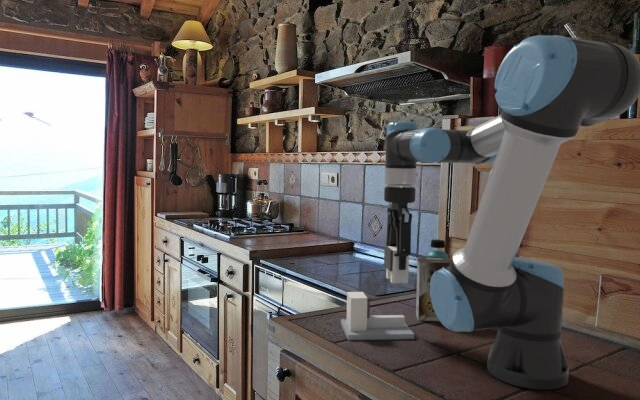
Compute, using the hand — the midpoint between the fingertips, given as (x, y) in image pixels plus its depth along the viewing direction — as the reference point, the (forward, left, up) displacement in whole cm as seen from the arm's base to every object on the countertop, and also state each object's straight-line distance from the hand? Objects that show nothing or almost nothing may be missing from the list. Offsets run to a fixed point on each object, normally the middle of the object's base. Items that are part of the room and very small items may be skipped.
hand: (396, 279), depth 125 cm
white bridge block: (0, 0, 0) cm, 0 cm away
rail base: (0, +5, -13) cm, 14 cm away
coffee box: (+10, -13, -13) cm, 22 cm away
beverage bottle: (+20, -17, -13) cm, 30 cm away
